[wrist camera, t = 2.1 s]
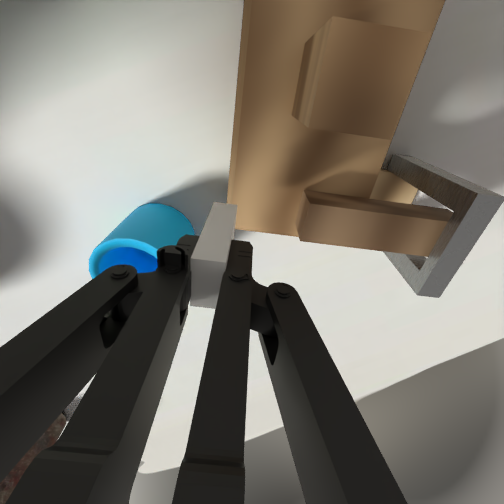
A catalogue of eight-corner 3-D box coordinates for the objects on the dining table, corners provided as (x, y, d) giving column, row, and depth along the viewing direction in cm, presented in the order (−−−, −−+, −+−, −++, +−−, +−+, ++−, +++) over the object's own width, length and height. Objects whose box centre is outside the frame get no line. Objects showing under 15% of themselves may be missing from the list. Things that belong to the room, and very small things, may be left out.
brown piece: (77, 422, 55) (-4, 571, 38) (45, 424, 56) (-48, 572, 39) (56, 401, 51) (-44, 558, 34) (22, 405, 52) (-92, 559, 35)
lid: (230, 223, 24) (220, 276, 17) (258, -62, 15) (260, -194, 8) (348, 238, 24) (384, 295, 18) (446, -27, 15) (600, -121, 8)
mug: (151, 187, 28) (118, 219, 22) (209, 235, 31) (196, 277, 25) (97, 253, 33) (54, 297, 26) (152, 290, 36) (127, 338, 29)
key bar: (295, 223, 22) (300, 240, 20) (303, 189, 21) (309, 203, 18) (429, 240, 23) (451, 259, 21) (447, 209, 22) (473, 225, 19)
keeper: (364, 227, 30) (417, 295, 20) (393, 153, 26) (478, 193, 16) (379, 229, 31) (439, 297, 21) (410, 156, 26) (506, 197, 16)
